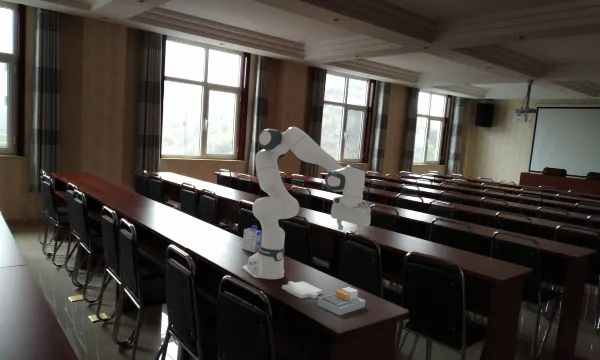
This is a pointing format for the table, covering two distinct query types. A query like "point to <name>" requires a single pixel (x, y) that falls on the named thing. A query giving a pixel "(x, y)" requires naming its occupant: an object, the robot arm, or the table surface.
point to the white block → (350, 293)
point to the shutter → (338, 298)
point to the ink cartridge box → (252, 239)
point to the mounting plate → (302, 289)
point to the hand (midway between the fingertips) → (348, 232)
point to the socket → (341, 305)
